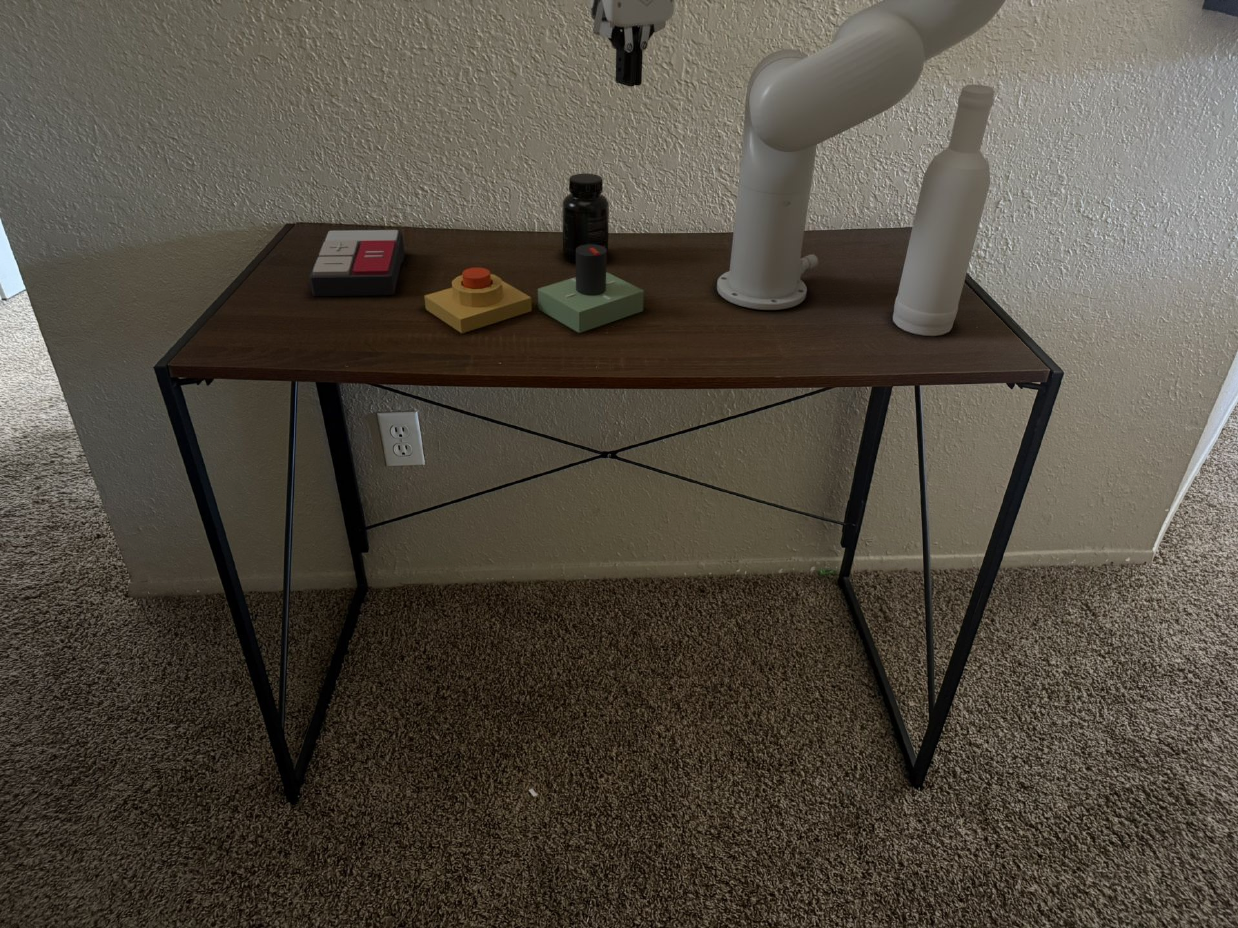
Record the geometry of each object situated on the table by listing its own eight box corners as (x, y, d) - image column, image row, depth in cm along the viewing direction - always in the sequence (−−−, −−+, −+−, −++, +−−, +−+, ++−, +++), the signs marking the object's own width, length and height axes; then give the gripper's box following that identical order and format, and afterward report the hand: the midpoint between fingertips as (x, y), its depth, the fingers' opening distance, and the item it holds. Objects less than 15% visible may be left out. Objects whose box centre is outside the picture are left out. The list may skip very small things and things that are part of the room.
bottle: (955, 340, 117) (1020, 98, 100) (893, 333, 119) (946, 92, 101) (949, 314, 124) (1009, 82, 107) (890, 308, 125) (940, 77, 108)
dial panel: (601, 289, 128) (601, 268, 126) (643, 311, 122) (644, 289, 120) (538, 309, 122) (537, 287, 120) (579, 333, 116) (579, 311, 114)
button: (481, 277, 121) (480, 265, 120) (496, 286, 119) (495, 274, 118) (458, 284, 119) (457, 271, 118) (472, 293, 117) (472, 280, 116)
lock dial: (571, 285, 121) (570, 244, 118) (598, 281, 122) (598, 240, 119) (583, 297, 118) (583, 255, 115) (610, 292, 119) (611, 251, 116)
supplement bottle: (609, 250, 140) (611, 172, 133) (605, 267, 134) (607, 187, 127) (566, 247, 140) (565, 169, 133) (559, 264, 135) (559, 184, 128)
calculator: (307, 272, 121) (325, 226, 132) (313, 301, 123) (330, 253, 135) (391, 271, 122) (401, 225, 134) (394, 299, 124) (405, 253, 136)
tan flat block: (494, 289, 127) (492, 262, 124) (531, 311, 121) (531, 283, 119) (425, 309, 121) (422, 281, 119) (461, 333, 115) (459, 304, 113)
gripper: (604, -82, 97) (601, 98, 107) (703, -85, 105) (691, 82, 116) (561, -87, 102) (563, 86, 112) (659, -90, 110) (652, 71, 120)
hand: (628, 83), depth 114 cm, fingers closed
